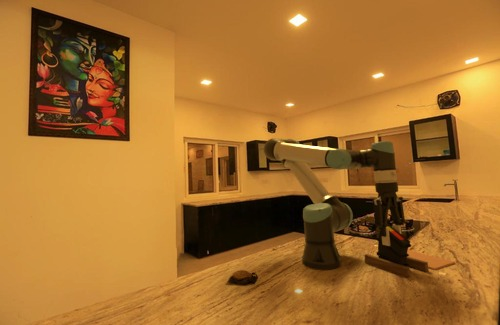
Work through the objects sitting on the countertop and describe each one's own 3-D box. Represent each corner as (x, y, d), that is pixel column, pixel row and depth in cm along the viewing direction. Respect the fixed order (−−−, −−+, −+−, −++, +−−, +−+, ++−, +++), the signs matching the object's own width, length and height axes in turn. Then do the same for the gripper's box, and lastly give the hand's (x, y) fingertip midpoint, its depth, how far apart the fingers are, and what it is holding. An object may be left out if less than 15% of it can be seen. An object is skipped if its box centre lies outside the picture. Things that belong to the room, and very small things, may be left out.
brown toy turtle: (224, 287, 82) (224, 276, 82) (231, 276, 90) (230, 266, 90) (255, 287, 80) (254, 276, 80) (259, 277, 88) (258, 266, 88)
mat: (434, 270, 83) (434, 268, 83) (387, 256, 100) (387, 254, 100) (455, 263, 88) (455, 261, 88) (407, 251, 104) (407, 249, 104)
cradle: (407, 277, 78) (406, 268, 79) (365, 262, 94) (364, 254, 94) (428, 271, 83) (427, 262, 83) (384, 257, 98) (384, 250, 98)
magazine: (379, 253, 98) (388, 223, 93) (405, 279, 86) (416, 245, 81) (371, 254, 98) (379, 224, 92) (396, 280, 85) (407, 247, 80)
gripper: (376, 183, 84) (383, 250, 82) (412, 180, 91) (419, 242, 89) (359, 183, 91) (365, 245, 89) (393, 180, 98) (399, 237, 96)
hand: (392, 243), depth 89 cm, fingers open, 6 cm apart
